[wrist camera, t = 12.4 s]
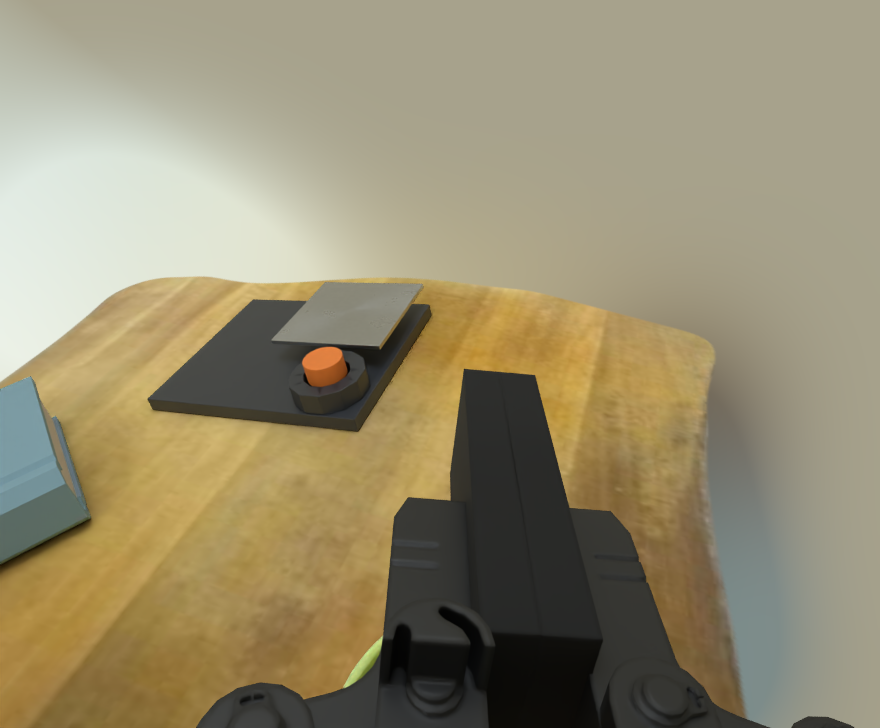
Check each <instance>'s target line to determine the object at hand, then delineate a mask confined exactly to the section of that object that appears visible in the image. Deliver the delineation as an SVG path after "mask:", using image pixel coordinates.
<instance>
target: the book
mask: <svg viewBox="0 0 880 728" xmlns="http://www.w3.org/2000/svg"><path fill="white" fill-rule="evenodd" d="M86 505H87V504H86V501H85V498H84V495H83V492H82V489H81V486H80V482H79V479H78V476H77V473H76V470H75V467H74V464H73V461H72V458H71V455H70V452H69V449H68V446H67V443H66V440H65V437H64V434H63V431H62V428H61V424H60V422H59V420H58V419H57V417H56V416H55V417H53V418H51V416H50V415H49V413H48V411H47V410H46V408H45V407H44V405H43V403H42V402H41V400H40V398H39V395H38V391H37V388H36V384H35V382H34V380H33V379H32V377H31V376H30V377H28V378H26V379H23V380H21V381H18V382H16V383H14V384H11V385H9V386H6V387H4V388H2V389H0V565H1V564H3V563H5V562H7V561H9V560H11V559H12V558H14V557H16V556H18V555H20V554H22V553H24V552H26V551H28V550H30V549H32V548H34V547H36V546H38V545H40V544H42V543H43V542H45V541H47V540H49V539H51V538H53V537H55V536H57V535H59V534H61V533H63V532H65V531H67V530H69V529H71V528H73V527H74V526H76V525H78V524H80V523H82V522H84V521H86V520H88V519H90V518H91V516H90V513H89V510H88V508H87V506H86Z"/></svg>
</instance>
